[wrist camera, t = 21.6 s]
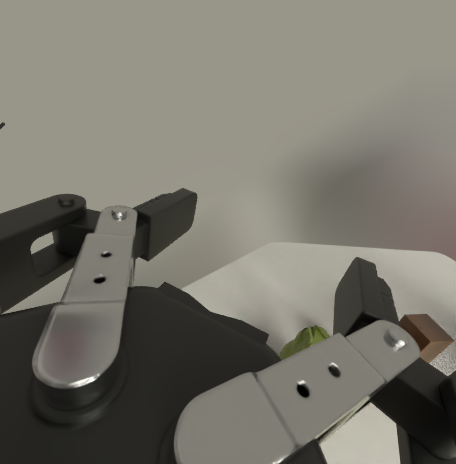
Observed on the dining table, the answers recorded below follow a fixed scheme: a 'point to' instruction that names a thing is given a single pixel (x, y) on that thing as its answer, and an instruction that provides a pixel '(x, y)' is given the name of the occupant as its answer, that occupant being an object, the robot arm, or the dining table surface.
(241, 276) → the dining table surface
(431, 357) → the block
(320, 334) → the olive green lumpy piece
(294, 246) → the dining table surface
